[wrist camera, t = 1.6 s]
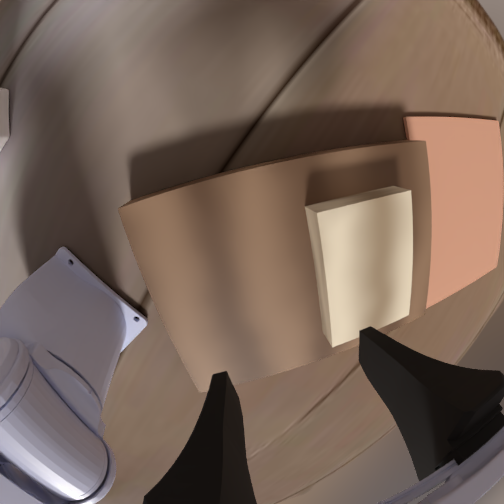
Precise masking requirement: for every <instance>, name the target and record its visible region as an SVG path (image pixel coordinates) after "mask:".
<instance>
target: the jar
mask: <svg viewBox="0 0 504 504" xmlns="http://www.w3.org/2000/svg"><path fill="white" fill-rule="evenodd" d="M9 137H10V132H9V90H8V89H4V88H0V151H1V150H2V148H3V147H4V145H5V143H6V142H7V140H8V139H9Z"/></svg>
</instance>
